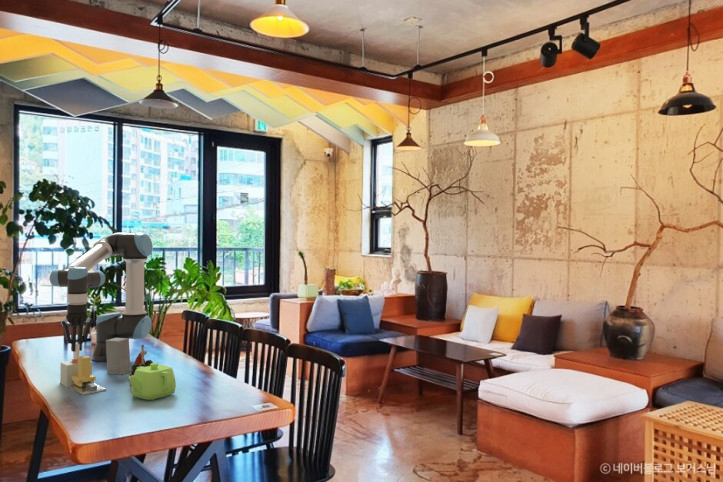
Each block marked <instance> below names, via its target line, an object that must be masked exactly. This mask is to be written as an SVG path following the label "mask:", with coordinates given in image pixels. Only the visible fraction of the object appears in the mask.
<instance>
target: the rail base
mask: <svg viewBox="0 0 723 482" xmlns="http://www.w3.org/2000/svg"><path fill="white" fill-rule="evenodd" d="M68 388H69V389H71V390H73V391H75V392H77V393H78V394H81V395H82V396H84V395H90V393H91V394H95V393H100V392H106V391H107V388H105V387H103V386H101V385H99V384H97V383H95V382H94V384H92V383H90V382H83V383H82V387H79V386H77V385H76V384H75V385H69V387H68Z"/></svg>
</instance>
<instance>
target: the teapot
mask: <svg viewBox="0 0 723 482" xmlns="http://www.w3.org/2000/svg"><path fill="white" fill-rule="evenodd" d="M127 379H128V380H129V382H130V385H132V386H131V388H130V391H131V394H132V397H135V398H139V399H142V400H147V401H155V400H156V399H160V398H163V397H168V396H170V395H172V394H174V393H175V391H176V388H177V385H176V384H177V383H176V377H175V372H174V369H173V367H171V366H168V365H164V364H159V363H158V362H153V363H151V364H150V366H147V367H143V366H140V367H137V369H136V370H135V373H134V376H133V375H132V376H130V375H129V376H128V377H127Z"/></svg>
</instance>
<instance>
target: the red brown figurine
mask: <svg viewBox="0 0 723 482" xmlns="http://www.w3.org/2000/svg"><path fill="white" fill-rule="evenodd" d="M147 354H148V351H147V350H145V344H141V350H140V352H139V353H138V355H137V357H136V358H135V360H134V363H133V364H132V366H131V370H130V374H129V377H130V376H132V375H133V376H134V373H135V370H136V369H137V367H140V366H143V367H147V366H150V364H151V363H154V362H153V361H152V359H148V360H145V356H146V355H147ZM131 386H132V385H131V384H129V388H130V389H131Z"/></svg>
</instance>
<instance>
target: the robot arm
mask: <svg viewBox="0 0 723 482" xmlns="http://www.w3.org/2000/svg"><path fill="white" fill-rule="evenodd" d="M152 252H153V241H152V239H151V237H150V236H149V235H148V234H147V233H143V232H114V233H112V234H111V233H110V234H108V235H106V236H104V237H102V238H101V239H99V240H98V241H96V242H95V243H94V244H93V247H92V248H90V249H89V250H87V251H86V252H85V253H84V254H82V255H81V256H79V257H77V259H75V260H74V261H72V262H70V263H69V264H68V265H67V266H66V267H64V268H62V269H54V270H53V271H51V272H50V274H49V282H50V285H52V286H53V287H58V288H59V287H60V288H67V300H66V301H67V306H66V307H67V308H66V313H67V315H66V316H65V318H64V319H63V320H60V321H59V323H60V324H61V326H62V330H63V334H64V338H65V341H66V343H68V344H70V345H71V346H70V349H71V352H72V353H73V357H72V359H78V357H80V352H81V351H83V350H82V349H83V344H84V342H87V340H88V336H89V333H90V328H91V325H92V324H93V322H94V318H91V317H89V315H88V304H87V303H88V289H91V288H92V289H93V288H98V287H101V286H103V285H104V283H105V282H106V275H105V273H104V272H103V271H101V270H97V269H94V270H93V268H94V267H96V266H97V265H98V264H99V263H101V262H102V261H104V260H106V259H109V258H110V257H113V256H122V259H123V261H124V262H125V309H124V310H123V311H122V312H120V311H119V312H118V311H117V312H110V313H109V312H108V313H103V314H99V315H98V316H97V317H96V322H95V323H96V324H95V326H96V329H95V330H96V331H95V332H96V336H95V337H96V338H95V339H96V340H95V347H94V350H93V351H92V355H91V361H94V362H107V354H106V340H109V339H113V338H126V339H129V340H143V339H146V338H147V337H148V335H149V333H150V331H151V329H152V318H151V317H150V316H149V315H148V311H146V310H145V307H144V305H145V303H144V302H145V301H144V300H145V297H144V296H145V262H147V260H148V257H149V256H150V255H152ZM85 322H86V323H85ZM68 323H69V324H70V330H69V326H68ZM84 324H85V326H84ZM83 327H84V328H83Z"/></svg>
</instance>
